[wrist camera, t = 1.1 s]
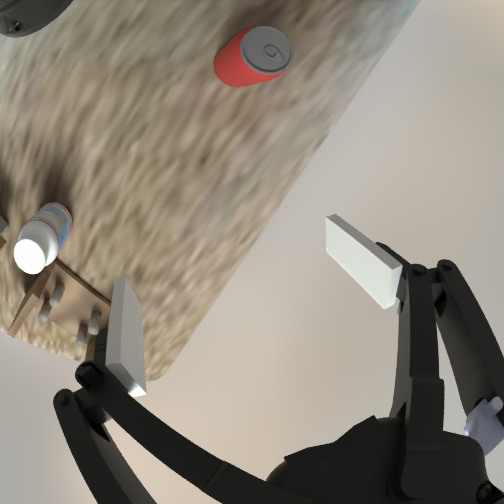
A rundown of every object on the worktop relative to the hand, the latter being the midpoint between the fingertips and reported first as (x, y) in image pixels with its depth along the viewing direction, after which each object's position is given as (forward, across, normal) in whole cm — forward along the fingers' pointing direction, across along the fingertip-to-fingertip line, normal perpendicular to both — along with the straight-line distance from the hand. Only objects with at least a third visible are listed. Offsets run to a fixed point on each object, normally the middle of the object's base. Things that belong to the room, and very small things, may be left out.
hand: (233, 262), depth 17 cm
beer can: (+25, +9, +14) cm, 30 cm away
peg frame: (+24, -26, -15) cm, 39 cm away
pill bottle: (+24, -22, 0) cm, 33 cm away
